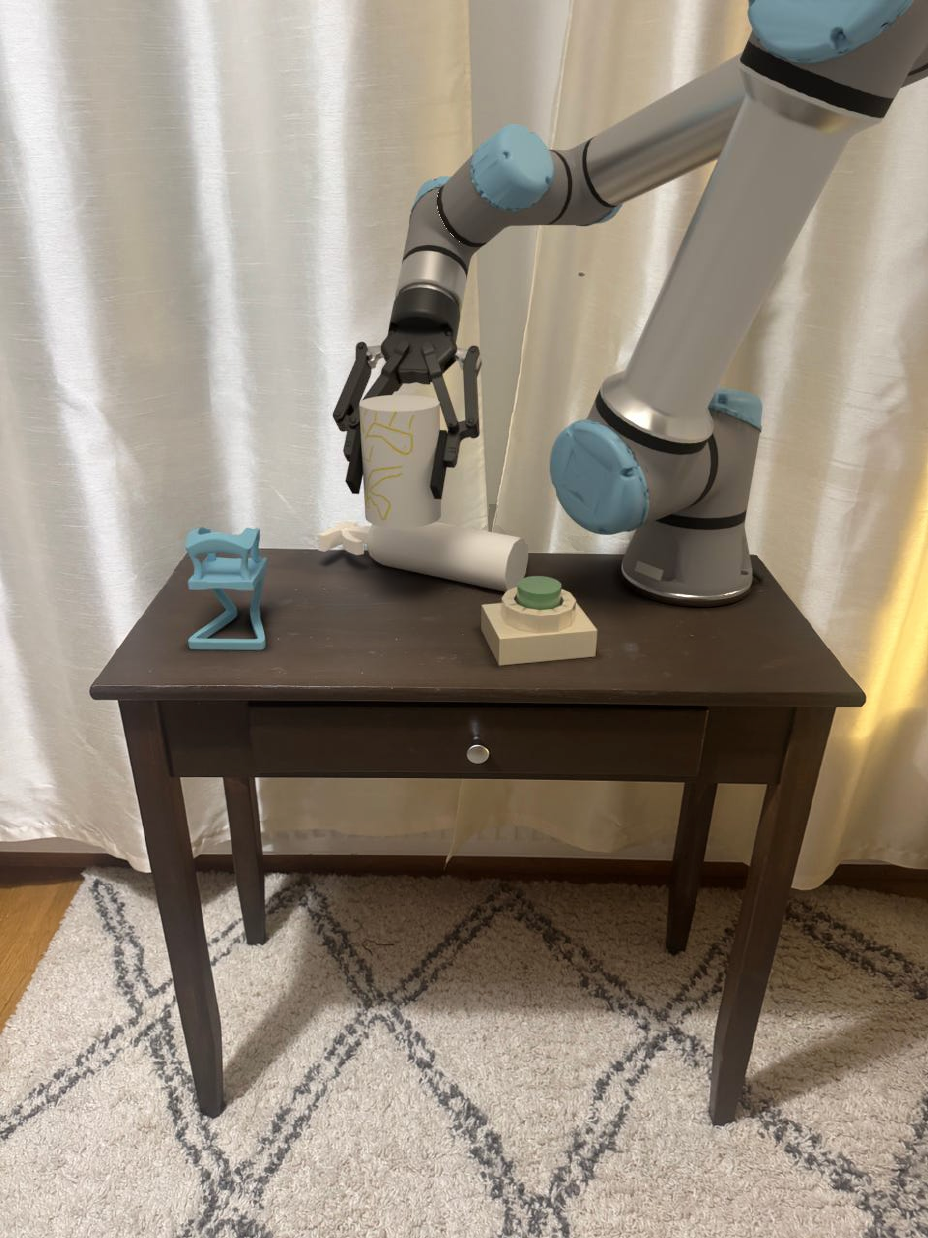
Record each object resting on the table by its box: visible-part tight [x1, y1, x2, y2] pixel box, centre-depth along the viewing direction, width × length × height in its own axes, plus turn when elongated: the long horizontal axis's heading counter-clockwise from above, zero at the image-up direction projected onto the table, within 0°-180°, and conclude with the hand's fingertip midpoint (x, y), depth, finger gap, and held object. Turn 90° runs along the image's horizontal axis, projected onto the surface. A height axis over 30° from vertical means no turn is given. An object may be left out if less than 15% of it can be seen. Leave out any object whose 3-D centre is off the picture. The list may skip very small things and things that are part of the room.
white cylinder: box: [359, 394, 442, 528], centre depth 89 cm, size 8×8×12 cm
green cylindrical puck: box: [517, 575, 562, 610], centre depth 86 cm, size 4×4×2 cm
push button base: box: [480, 587, 598, 667], centre depth 87 cm, size 10×8×5 cm
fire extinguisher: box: [317, 520, 529, 593], centre depth 104 cm, size 7×12×25 cm
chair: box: [184, 526, 268, 651], centre depth 87 cm, size 8×8×12 cm
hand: (393, 490), depth 87 cm, fingers closed on white cylinder, 8 cm apart
